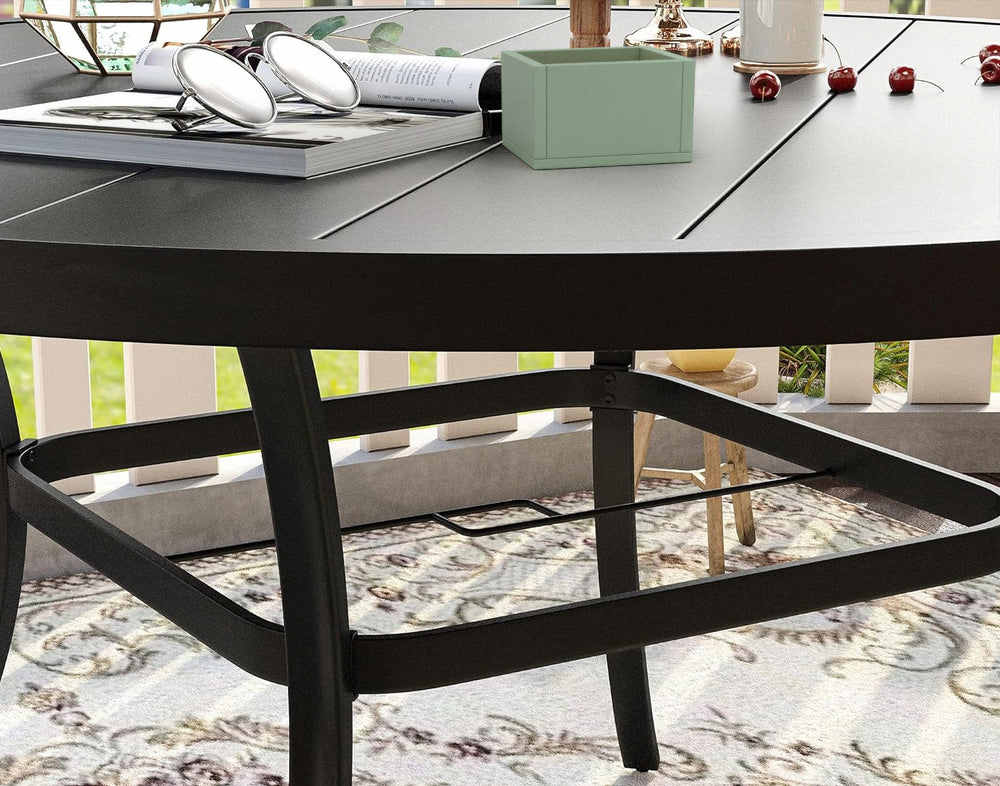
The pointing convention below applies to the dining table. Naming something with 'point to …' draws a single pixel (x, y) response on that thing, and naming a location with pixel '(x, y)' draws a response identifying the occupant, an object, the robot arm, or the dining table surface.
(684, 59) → the holder
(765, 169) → the dining table surface
